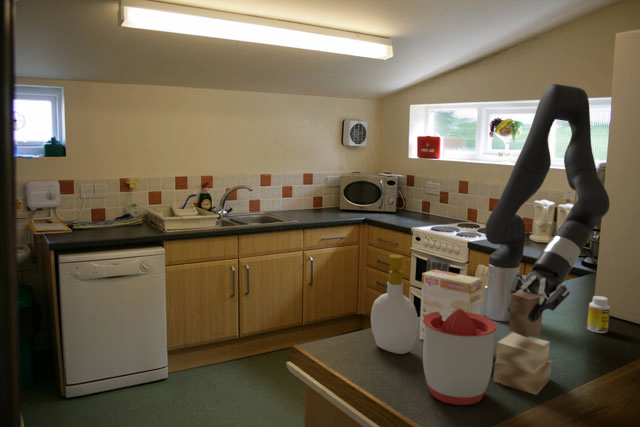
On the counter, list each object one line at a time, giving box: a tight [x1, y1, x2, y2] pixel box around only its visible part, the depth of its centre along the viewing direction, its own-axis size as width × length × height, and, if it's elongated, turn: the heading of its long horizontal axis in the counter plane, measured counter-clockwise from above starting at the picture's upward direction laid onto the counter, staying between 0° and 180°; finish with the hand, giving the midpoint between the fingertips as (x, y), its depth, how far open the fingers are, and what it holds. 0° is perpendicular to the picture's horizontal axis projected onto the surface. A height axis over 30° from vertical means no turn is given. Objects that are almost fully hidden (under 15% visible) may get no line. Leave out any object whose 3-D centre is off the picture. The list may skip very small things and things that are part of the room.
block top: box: [495, 332, 551, 374], centre depth 126 cm, size 9×9×5 cm
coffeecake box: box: [419, 269, 483, 341], centre depth 148 cm, size 15×7×20 cm, turn 47°
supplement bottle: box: [586, 295, 611, 334], centre depth 160 cm, size 6×6×10 cm
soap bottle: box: [370, 254, 419, 355], centre depth 143 cm, size 14×9×26 cm, turn 46°
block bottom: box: [492, 360, 552, 396], centre depth 127 cm, size 10×10×5 cm
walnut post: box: [508, 290, 543, 337], centre depth 125 cm, size 5×5×9 cm
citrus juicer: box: [422, 309, 497, 406], centre depth 120 cm, size 16×17×20 cm
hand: (520, 316), depth 124 cm, fingers closed on walnut post, 5 cm apart
